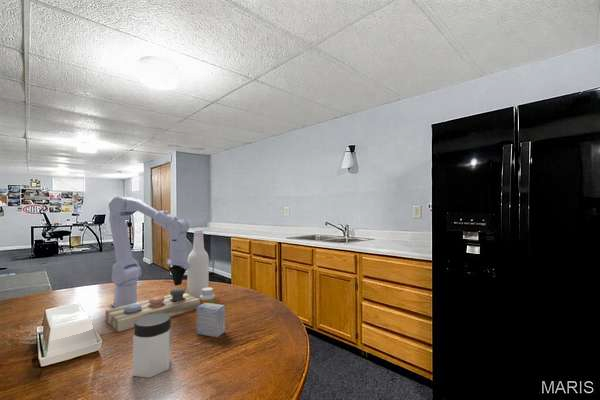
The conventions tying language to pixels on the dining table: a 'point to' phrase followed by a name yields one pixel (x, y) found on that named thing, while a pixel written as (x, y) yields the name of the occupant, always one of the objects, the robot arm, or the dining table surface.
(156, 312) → the panel
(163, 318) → the jar
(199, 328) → the medicine box
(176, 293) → the charcoal plug
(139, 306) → the slate-blue plug
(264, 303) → the dining table surface
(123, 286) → the robot arm
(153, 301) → the terracotta plug
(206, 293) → the supplement bottle
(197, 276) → the alcohol
